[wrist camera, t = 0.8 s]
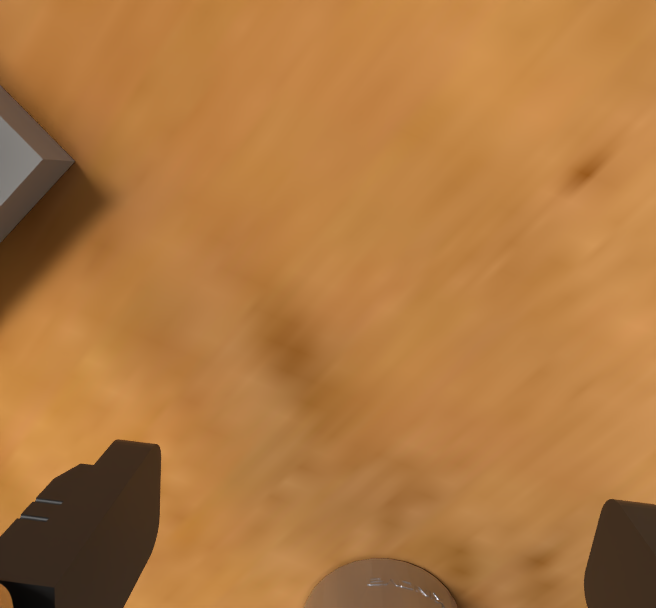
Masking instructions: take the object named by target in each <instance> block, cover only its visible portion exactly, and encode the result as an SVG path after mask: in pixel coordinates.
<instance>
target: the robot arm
mask: <svg viewBox="0 0 656 608" xmlns="http://www.w3.org/2000/svg"><path fill="white" fill-rule="evenodd" d="M160 479H161V450H160V447H159V445H157V444H150V443H142V442H134V441H126V440H115V441H114V442H113V443H112V444H111V445H110V446H109V448H108V449H107V450H106V451H105V452H104V454H103V455H102V456H101V457H100V458H99V460H98V461H97V462H96V463H95V464H94V465H88V464H79V465H77V466H76V467H74V468H72V469H70V470H69V471H67V472H65V473H63V474H61V475H60V476H58V477H56V478H54V479H53V480H52V481H51V482H50V484H49V485H48V486H47V487H46V488H45V489H44V490H43V491H42V492H41V493H40V494H39V495H38V497H37V498H36V501H35V502H32V503H31V504H30V505H29V506H28V507H27V508H26V509H25V511H24V512H23V513H22V514H21V517H20V519H18V518H17V519H16V520H15V521H14V522H13V524H12V525H11V526H10V527H9V528H8V529H7V530H6V531H5V532H4V533H3V534H2V535H1V537H0V608H123V607H124V605H125V603H126V602H127V600H128V598H129V596H130V594H131V592H132V590H133V588H134V586H135V584H136V582H137V580H138V578H139V576H140V575H141V573H142V571H143V569H144V567H145V565H146V563H147V561H148V559H149V557H150V555H151V553H152V550H153V547H154V544H155V541H156V537H157V532H158V527H159V517H160ZM584 591H585V598H586V603H587V606H588V608H656V505H654V504H647V503H639V502H631V501H622V500H614V499H610V500H608V501H607V502H606V503H605V504H604V506H603V508H602V511H601V514H600V518H599V521H598V525H597V529H596V533H595V537H594V540H593V544H592V548H591V552H590V555H589V559H588V563H587V567H586V571H585V577H584ZM304 608H458V607H457V604H456V602H455V600H454V599H453V597H452V596H451V594H450V593H449V591H448V589H447V588H446V587H445V586H444V585H443V584H442V583H441V582H440V581H439V580H438V579H437V578H436V577H434V576H432V575H431V574H429V573H428V572H426V571H425V570H423V569H422V568H419V567H417V566H414V565H412V564H409V563H407V562H403V561H398V560H393V559H366V560H361V561H355V562H352V563H350V564H347V565H345V566H342V567H339V568H338V569H336V570H335V571H333V572H331V573H330V574H328V575H327V576H325V577H324V578H323V579H322V580H321V581H320V582H319V583H318V584H317V585H316V586H315V587H314V589H313V590H312V592H311V594H310V595H309V597H308V599H307V600H306V603H305V606H304Z"/></svg>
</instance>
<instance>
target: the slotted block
mask: <svg viewBox="0 0 656 608" xmlns="http://www.w3.org/2000/svg"><path fill="white" fill-rule="evenodd" d="M74 162H75V161H74V160H73V159H72V158H71V157H70V156H69V155H68V154H67V153H66V152H65V151H64V150H63V149H62V148H61V147H60V146H59V144H58V143H57V142H56V141H55V140H54V139H53V138H52V137H51V136H50V135H49V134H48V133H47V132H46V131H45V130H44V129H43V128H42V127H41V126H40V125H39V124H38V123H37V122H36V121H35V120H34V119H33V118H32V117H31V116H30V115H29V114H28V113H27V112H26V111H25V110H24V109H23V108H22V107H21V106H20V105H19V104H18V103H17V102H16V101H15V100H14V99H13V98H12V97H11V96H10V95H9V94H8V93H7V92H6V91H5V90H4V89H3V88H2V87H1V86H0V243H1V242H2V241H3V239H4V238H5V237H6V236H7V235H8V234H9V233H10V232H11V231H12V230H13V229H14V227H15V226H16V225H17V224H18V223H19V222H20V221H21V220H22V219H23V218H24V217H25V215H26V214H27V213H28V212H29V211H30V210H31V209H32V208H33V207H34V206H35V204H36V203H37V202H38V201H39V200H40V199H41V198H42V197H43V196H44V195H45V194H46V192H47V191H48V190H49V189H50V188H51V187H52V186H53V185H54V184H55V183H56V182H57V180H58V179H59V178H60V177H61V176H62V175H63V174H64V173H65V172H66V171H67V170H68V168H69V167H70V166H71V165H72V164H73V163H74Z"/></svg>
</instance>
